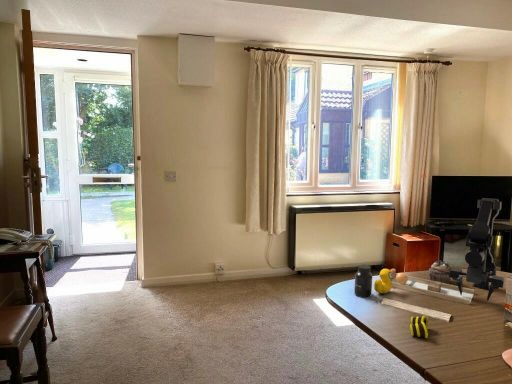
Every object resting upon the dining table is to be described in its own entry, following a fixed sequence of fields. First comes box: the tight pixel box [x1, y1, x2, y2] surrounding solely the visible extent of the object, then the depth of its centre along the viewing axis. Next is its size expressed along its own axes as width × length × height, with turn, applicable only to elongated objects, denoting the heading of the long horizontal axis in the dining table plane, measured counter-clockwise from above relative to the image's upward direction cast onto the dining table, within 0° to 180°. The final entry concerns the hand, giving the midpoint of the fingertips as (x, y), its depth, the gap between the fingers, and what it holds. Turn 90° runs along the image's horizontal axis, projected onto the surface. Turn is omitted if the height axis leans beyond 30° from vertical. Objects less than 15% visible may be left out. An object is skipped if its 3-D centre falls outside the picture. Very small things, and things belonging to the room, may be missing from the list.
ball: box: [396, 272, 408, 284], centre depth 162 cm, size 5×5×5 cm
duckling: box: [373, 268, 394, 294], centre depth 153 cm, size 11×5×10 cm, turn 125°
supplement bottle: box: [353, 264, 373, 299], centre depth 150 cm, size 7×7×12 cm
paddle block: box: [428, 281, 441, 293], centre depth 155 cm, size 8×3×4 cm
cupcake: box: [428, 259, 452, 285], centre depth 166 cm, size 10×10×10 cm
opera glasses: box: [409, 315, 430, 339], centre depth 120 cm, size 10×5×5 cm, turn 153°
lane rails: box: [389, 268, 475, 305], centre depth 157 cm, size 14×34×4 cm, turn 53°
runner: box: [391, 278, 475, 303], centre depth 156 cm, size 12×32×1 cm, turn 53°
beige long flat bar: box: [380, 297, 452, 323], centre depth 137 cm, size 24×7×2 cm, turn 53°
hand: (474, 297), depth 146 cm, fingers open, 9 cm apart
